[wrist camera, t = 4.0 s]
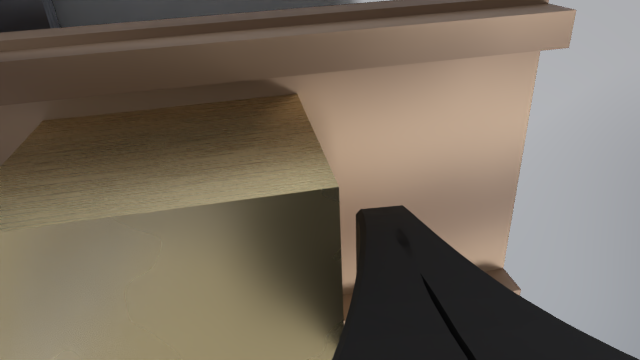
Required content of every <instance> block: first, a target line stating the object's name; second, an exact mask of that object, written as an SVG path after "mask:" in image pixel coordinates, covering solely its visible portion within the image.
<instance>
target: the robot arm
mask: <svg viewBox="0 0 640 360" xmlns="http://www.w3.org/2000/svg"><path fill="white" fill-rule="evenodd" d="M332 360H639V359H637V358H635V357H633V356H630V355H628V354H626V353H624V352H622V351H619V350H618V349H616V348H614V347H611V346H610V345H608V344H606V343H603V342H601V341H600V340H598V339H596V338H594V337H592V336H590V335H588V334H586V333H584V332H582V331H580V330H578V329H576V328H574V327H572V326H571V325H569V324H567V323H565V322H563V321H561V320H560V319H558V318H556V317H554V316H553V315H551V314H549V313H548V312H546V311H544V310H542V309H541V308H539V307H537V306H536V305H534V304H532V303H531V302H529V301H527V300H526V299H524V298H522V297H521V296H519V295H518V294H516V293H515V292H513V291H512V290H510V289H508V288H507V287H505V286H504V285H503V284H501V283H500V282H498V281H497V280H495V279H494V278H493V277H491V276H490V275H488V274H487V273H485V272H484V271H483V270H481V269H480V268H479V267H477V266H476V265H475V264H473V263H472V262H471V261H469V260H468V259H467V258H465V257H464V256H463V255H461V254H460V253H459V252H458V251H456V250H455V249H454V248H453V247H451V246H450V245H449V244H448V243H446V242H445V241H444V240H443V239H442V238H440V237H439V236H438V235H437V234H436V233H434V232H433V231H432V230H431V229H430V228H429V227H427V226H426V225H425V224H424V223H423V222H422V221H421V220H419V219H418V218H417V217H416V216H415V215H414V214H413V213H411V212H410V211H409V210H408V209H407V208H406V207H404V206H403V205H400V206H389V207H378V208H367V209H360V210H359V211H358V212H357V213H356V280H355V285H354V289H353V294H352V299H351V303H350V306H349V310H348V314H347V317H346V321H345V324H344V327H343V330H342V333H341V336H340V339H339V342H338V345H337V348H336V350H335V353H334V356H333V358H332Z"/></svg>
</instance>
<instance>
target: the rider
mask: <svg viewBox="0 0 640 360" xmlns="http://www.w3.org/2000/svg"><path fill="white" fill-rule="evenodd" d="M343 327H344V316H343V287H342V258H341V230H340V201H339V186H338V183H337V181H336V179H335V177H334V175H333V172H332V170H331V168H330V166H329V163H328V161H327V159H326V157H325V155H324V152H323V150H322V148H321V146H320V143H319V141H318V139H317V137H316V135H315V132H314V130H313V128H312V126H311V123H310V121H309V119H308V117H307V114H306V112H305V110H304V108H303V106H302V103H301V101H300V99H299V97H298V94H288V95H279V96H269V97H260V98H250V99H241V100H231V101H222V102H212V103H203V104H193V105H184V106H174V107H165V108H155V109H146V110H137V111H127V112H118V113H109V114H99V115H90V116H80V117H71V118H62V119H52V120H43V121H42V122H41V123H40V124H39V125H38V126H37V127H36V129H35V130H34V131H33V132H32V133H31V134H30V135H29V136H28V137H27V138H26V139H25V140H24V142H23V143H22V144H21V145H20V146H19V147H18V148H17V149H16V150H15V151H14V152H13V153H12V155H11V156H10V157H9V158H8V159H7V160H6V161H5V162H4V163H3V164H2V165H1V166H0V360H332V358H333V356H334V353H335V350H336V348H337V345H338V342H339V339H340V336H341V333H342V330H343Z"/></svg>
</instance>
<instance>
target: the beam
mask: <svg viewBox="0 0 640 360" xmlns="http://www.w3.org/2000/svg"><path fill="white" fill-rule="evenodd" d="M548 2H549V0H392V1H379V2H367V3H355V4H343V5H331V6H318V7H306V8H294V9H282V10H270V11H258V12H245V13H233V14H221V15H209V16H197V17H185V18H172V19H160V20H148V21H136V22H124V23H112V24H99V25H87V26H75V27H63V28H51V29H39V30H26V31H14V32H2V33H0V166H1V165H2V164H3V163H4V162H5V161H6V160H7V159H8V158H9V157H10V156H11V155H12V153H13V152H14V151H15V150H16V149H17V148H18V147H19V146H20V145H21V144H22V143H23V142H24V140H25V139H26V138H27V137H28V136H29V135H30V134H31V133H32V132H33V131H34V130H35V129H36V127H37V126H38V125H39V124H40V123H41V122H42V121H43V120H52V119H62V118H71V117H80V116H90V115H99V114H109V113H118V112H127V111H137V110H146V109H155V108H165V107H174V106H184V105H193V104H203V103H212V102H222V101H231V100H241V99H250V98H260V97H269V96H279V95H288V94H298V97H299V99H300V101H301V103H302V106H303V108H304V110H305V112H306V114H307V117H308V119H309V121H310V123H311V126H312V128H313V130H314V132H315V135H316V137H317V139H318V141H319V143H320V146H321V148H322V150H323V152H324V155H325V157H326V159H327V161H328V163H329V166H330V168H331V170H332V172H333V175H334V177H335V179H336V181H337V183H338V186H339V201H340V230H341V258H342V287H343V316H344V324H345V321H346V317H347V314H348V310H349V306H350V303H351V299H352V294H353V289H354V285H355V280H356V213H357V212H358V211H359V210H360V209H367V208H378V207H389V206H400V205H403V206H404V207H406V208H407V209H408V210H409V211H410V212H411V213H413V214H414V215H415V216H416V217H417V218H418V219H419V220H421V221H422V222H423V223H424V224H425V225H426V226H427V227H429V228H430V229H431V230H432V231H433V232H434V233H436V234H437V235H438V236H439V237H440V238H442V239H443V240H444V241H445V242H446V243H448V244H449V245H450V246H451V247H453V248H454V249H455V250H456V251H458V252H459V253H460V254H461V255H463V256H464V257H465V258H467V259H468V260H469V261H471V262H472V263H473V264H475V265H476V266H477V267H479V268H480V269H481V270H483V271H484V272H485V273H487V274H488V275H490V276H491V277H493V278H494V279H495V280H497V281H498V282H500V283H501V284H503V285H504V286H505V287H507V288H508V289H510V290H512V291H513V292H515V293H516V294H518V295H519V296H520V292H521V289H520V288H519V287H518V286H517V284H516V283H515V282H514V281H513V279H512V278H511V277H510V276H509V275H508V273H506V271H505V270H504V269H503V266H504V261H505V255H506V249H507V243H508V237H509V231H510V225H511V220H512V214H513V208H514V202H515V196H516V190H517V183H518V178H519V173H520V167H521V161H522V155H523V149H524V143H525V137H526V131H527V126H528V120H529V113H530V108H531V102H532V96H533V90H534V84H535V79H536V73H537V67H538V61H539V55H540V51H542V50H552V49H562V48H569V44H570V40H571V35H572V29H573V24H574V19H575V14H576V10H574V9H570V8H565V7H561V6H557V5H552V4H548Z"/></svg>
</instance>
